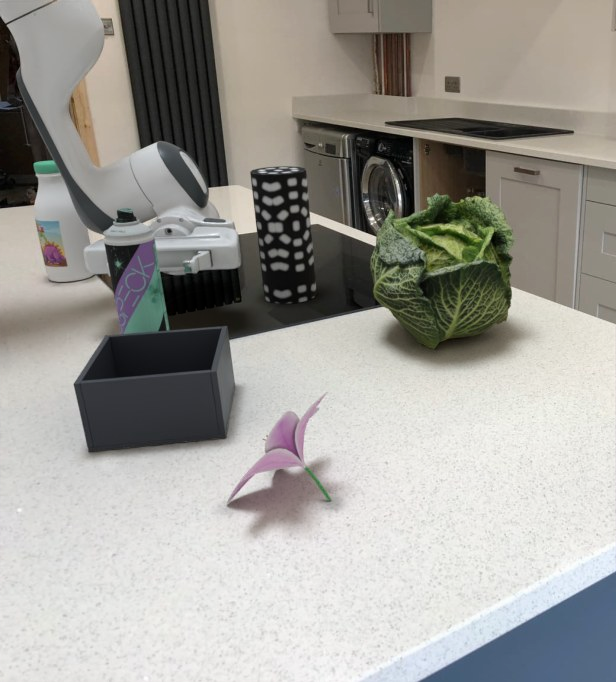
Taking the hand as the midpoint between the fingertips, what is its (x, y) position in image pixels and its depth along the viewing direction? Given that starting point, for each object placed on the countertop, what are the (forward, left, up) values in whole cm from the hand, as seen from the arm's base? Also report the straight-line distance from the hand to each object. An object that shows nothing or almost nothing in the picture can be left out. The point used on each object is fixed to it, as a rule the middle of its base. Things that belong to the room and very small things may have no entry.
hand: (151, 269), depth 94 cm
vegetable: (+37, -3, -11) cm, 39 cm away
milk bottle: (-22, +39, -11) cm, 46 cm away
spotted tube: (+16, +19, -11) cm, 28 cm away
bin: (+3, -21, -11) cm, 24 cm away
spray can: (-1, -7, -11) cm, 13 cm away
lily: (+16, -39, -11) cm, 44 cm away
